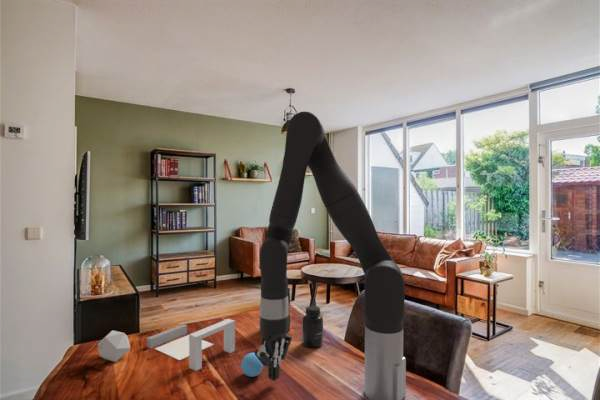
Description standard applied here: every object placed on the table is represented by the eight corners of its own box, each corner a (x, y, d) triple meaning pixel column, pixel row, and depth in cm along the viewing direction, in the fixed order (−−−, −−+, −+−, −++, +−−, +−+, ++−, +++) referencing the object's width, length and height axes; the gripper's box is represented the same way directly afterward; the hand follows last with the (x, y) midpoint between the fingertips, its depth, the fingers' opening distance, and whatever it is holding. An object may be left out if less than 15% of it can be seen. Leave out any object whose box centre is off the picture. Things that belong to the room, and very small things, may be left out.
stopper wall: (187, 333, 121) (187, 325, 121) (150, 348, 110) (150, 339, 110) (183, 332, 122) (183, 324, 122) (147, 346, 111) (147, 337, 111)
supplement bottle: (321, 349, 109) (321, 312, 109) (300, 347, 110) (300, 310, 110) (324, 340, 116) (324, 305, 116) (304, 338, 117) (304, 304, 117)
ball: (267, 373, 94) (267, 352, 94) (252, 383, 89) (252, 361, 89) (251, 367, 98) (251, 346, 98) (236, 376, 93) (236, 355, 93)
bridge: (234, 350, 108) (234, 320, 108) (196, 371, 96) (195, 337, 96) (228, 348, 110) (228, 318, 110) (189, 367, 97) (189, 334, 97)
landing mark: (213, 344, 112) (213, 344, 112) (179, 360, 102) (179, 359, 102) (188, 335, 120) (188, 334, 120) (154, 349, 109) (154, 348, 109)
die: (107, 354, 107) (88, 337, 102) (133, 336, 110) (117, 319, 105) (111, 373, 101) (92, 356, 96) (138, 354, 104) (122, 337, 99)
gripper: (268, 324, 81) (268, 396, 81) (300, 308, 92) (300, 372, 92) (245, 317, 85) (245, 385, 85) (278, 303, 96) (278, 364, 96)
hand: (273, 378), depth 89 cm, fingers closed
